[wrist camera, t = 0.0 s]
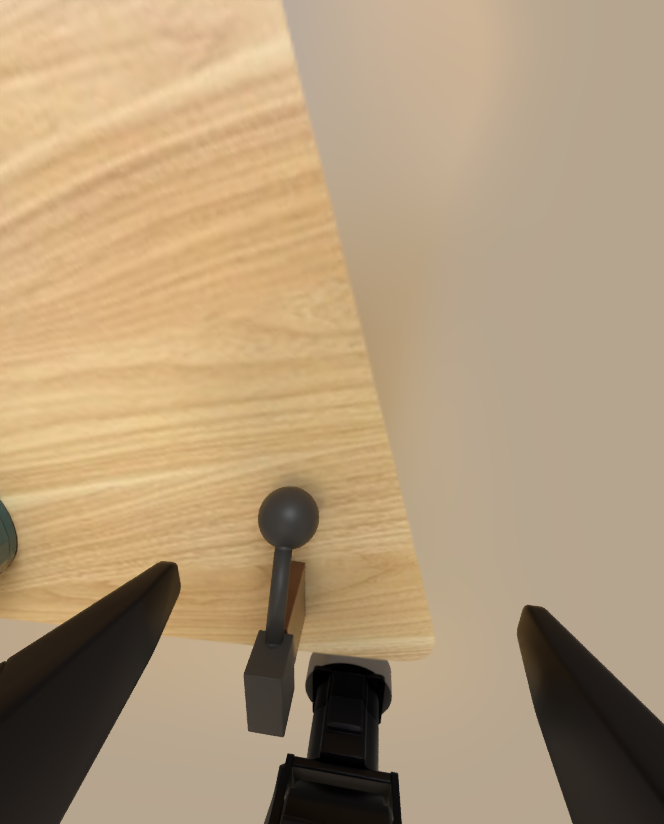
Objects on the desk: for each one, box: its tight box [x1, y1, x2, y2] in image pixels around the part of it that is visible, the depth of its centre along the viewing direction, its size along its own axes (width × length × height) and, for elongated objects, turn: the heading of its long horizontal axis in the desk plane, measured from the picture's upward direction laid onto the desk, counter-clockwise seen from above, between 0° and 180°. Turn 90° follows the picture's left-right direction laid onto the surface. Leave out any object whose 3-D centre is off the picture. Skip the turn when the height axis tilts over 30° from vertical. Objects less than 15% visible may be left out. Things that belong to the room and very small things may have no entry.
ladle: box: [244, 487, 319, 737], centre depth 20 cm, size 12×4×8 cm, turn 179°
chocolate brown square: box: [284, 562, 305, 664], centre depth 23 cm, size 5×1×5 cm, turn 179°
